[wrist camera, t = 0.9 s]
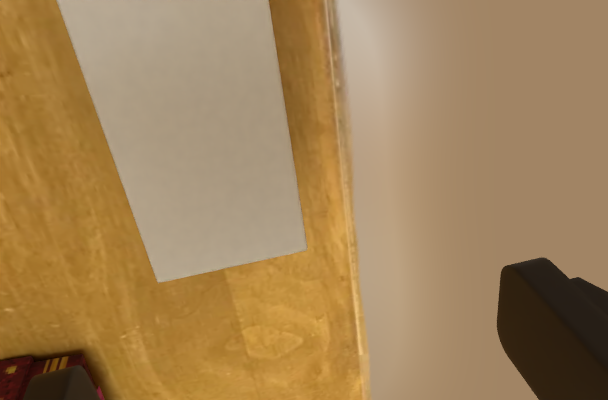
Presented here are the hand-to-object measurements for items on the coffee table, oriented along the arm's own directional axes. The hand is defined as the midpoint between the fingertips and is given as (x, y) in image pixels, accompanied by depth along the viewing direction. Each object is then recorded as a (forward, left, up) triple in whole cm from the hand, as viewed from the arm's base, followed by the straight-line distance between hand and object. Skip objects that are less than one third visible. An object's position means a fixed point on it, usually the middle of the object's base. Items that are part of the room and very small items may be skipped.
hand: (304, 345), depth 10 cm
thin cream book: (-1, -2, -11) cm, 11 cm away
